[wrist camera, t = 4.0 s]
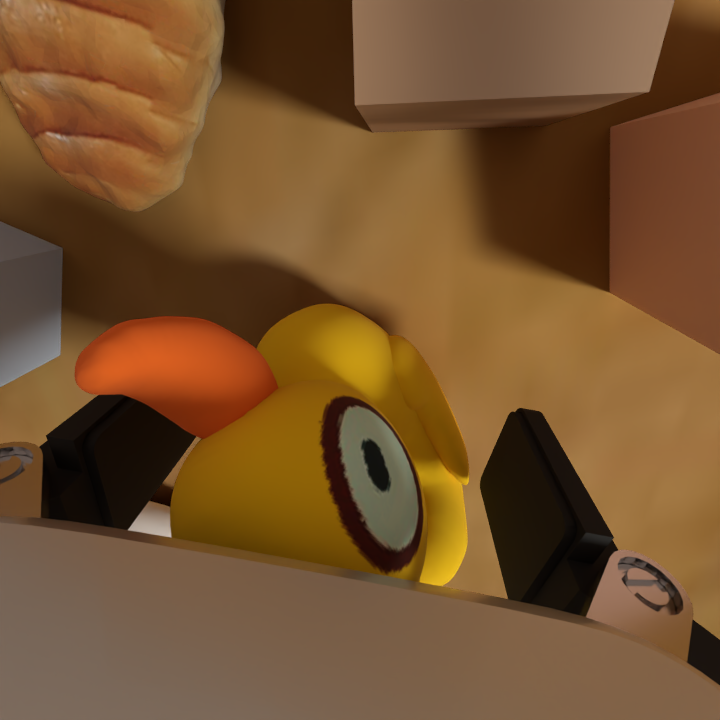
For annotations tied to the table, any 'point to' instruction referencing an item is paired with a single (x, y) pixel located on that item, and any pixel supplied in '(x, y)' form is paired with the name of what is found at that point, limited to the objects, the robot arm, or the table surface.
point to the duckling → (301, 438)
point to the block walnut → (500, 60)
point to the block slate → (28, 302)
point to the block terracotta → (669, 217)
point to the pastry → (113, 88)
